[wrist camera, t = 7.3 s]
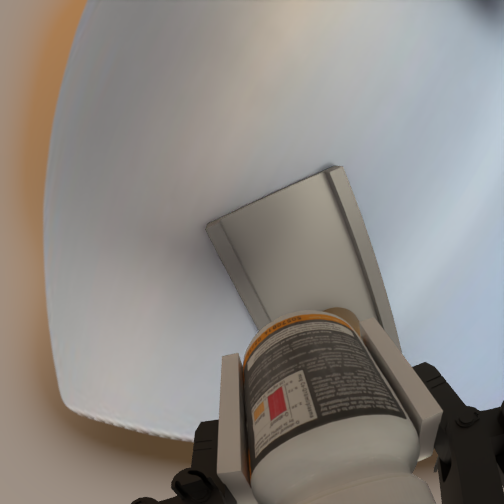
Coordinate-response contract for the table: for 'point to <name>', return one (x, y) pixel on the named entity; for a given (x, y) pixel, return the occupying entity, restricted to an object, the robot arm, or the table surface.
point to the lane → (303, 253)
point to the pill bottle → (325, 418)
